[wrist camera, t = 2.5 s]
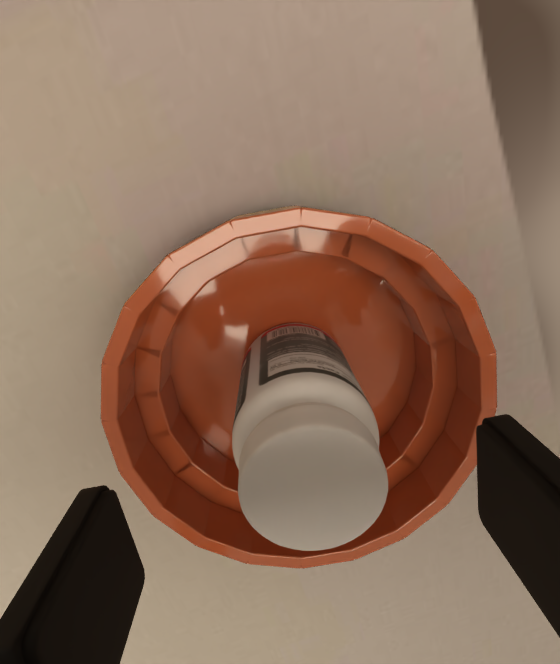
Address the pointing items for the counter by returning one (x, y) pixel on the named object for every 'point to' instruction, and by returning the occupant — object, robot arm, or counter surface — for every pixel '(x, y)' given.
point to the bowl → (307, 308)
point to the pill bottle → (305, 442)
